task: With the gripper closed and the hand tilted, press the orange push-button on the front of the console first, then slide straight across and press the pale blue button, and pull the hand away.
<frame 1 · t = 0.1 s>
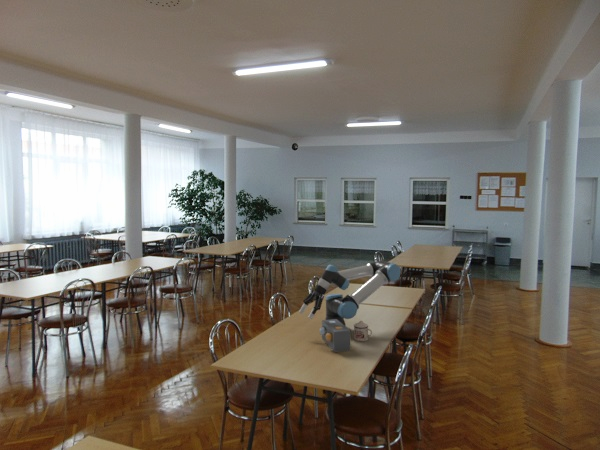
hand: (305, 315, 266), 15 cm above the table, tool tilted 35°, fingers open, 13 cm apart
teacup with lid: (363, 339, 265), on the table
orange button: (329, 337, 249), point 7 cm above the table, slide at 0.0 cm
pale blue button: (323, 331, 261), point 7 cm above the table, slide at 0.0 cm
button console: (335, 344, 257), on the table
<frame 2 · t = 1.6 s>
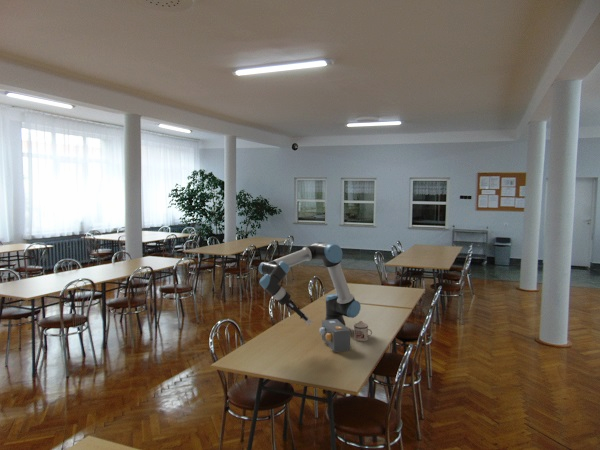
hand: (308, 320, 245), 18 cm above the table, tool tilted 45°, fingers open, 10 cm apart
nothing on the table moved.
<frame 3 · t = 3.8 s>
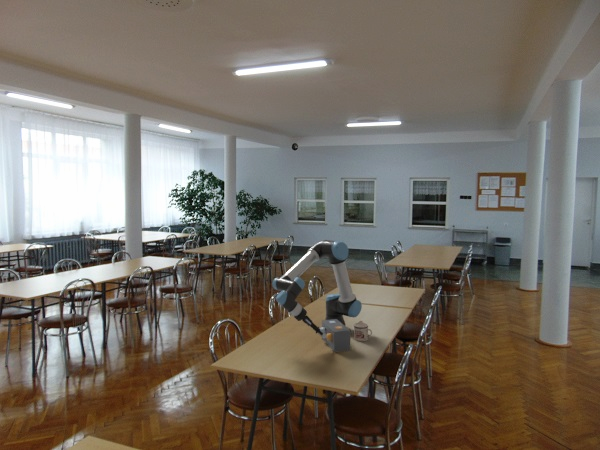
hand: (325, 337, 249), 7 cm above the table, tool tilted 45°, fingers closed
orange button: (330, 337, 250), point 7 cm above the table, slide at 0.6 cm, touching gripper
everything else where it was.
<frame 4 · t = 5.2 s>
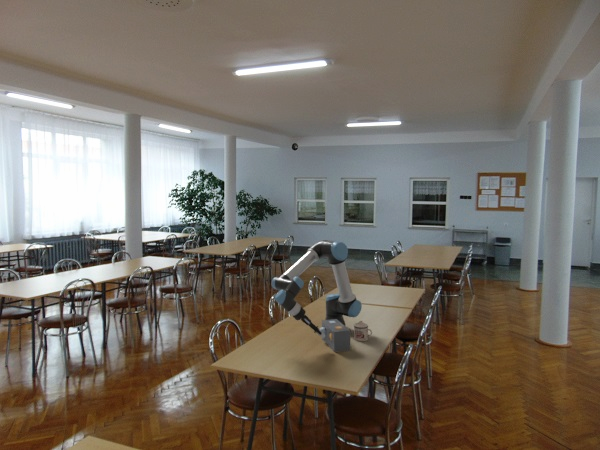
hand: (324, 336, 248), 8 cm above the table, tool tilted 45°, fingers closed
orange button: (333, 336, 250), point 7 cm above the table, slide at 2.6 cm
everything else where it was.
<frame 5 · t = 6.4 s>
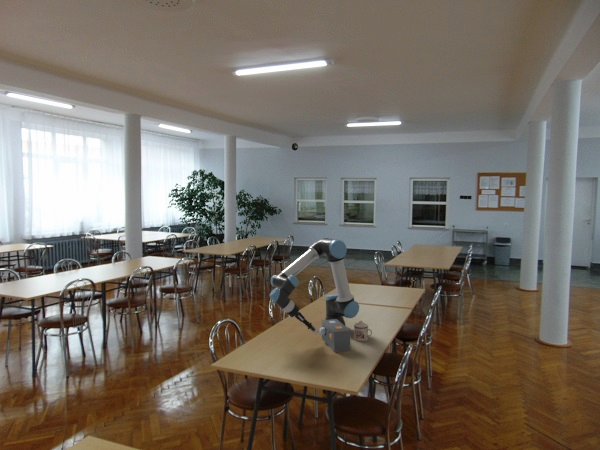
hand: (317, 332, 257), 7 cm above the table, tool tilted 45°, fingers closed
nothing on the table moved.
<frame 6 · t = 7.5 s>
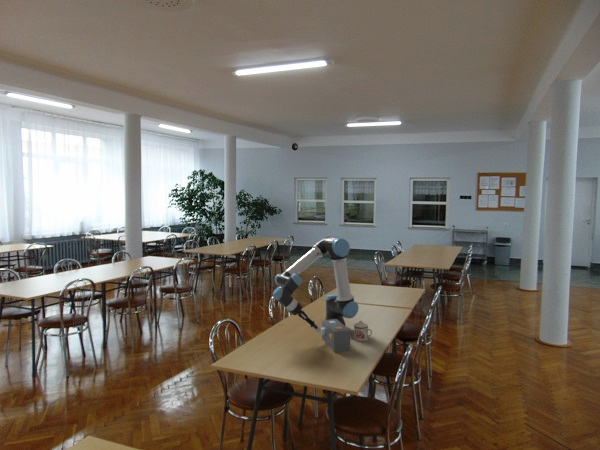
hand: (320, 331, 260), 7 cm above the table, tool tilted 45°, fingers closed
pale blue button: (324, 330, 261), point 7 cm above the table, slide at 0.9 cm, touching gripper
everything else where it was.
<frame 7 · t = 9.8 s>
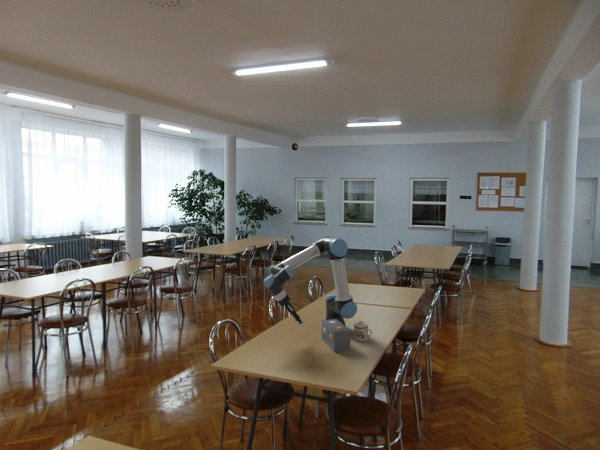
hand: (303, 326, 260), 10 cm above the table, tool tilted 35°, fingers closed
pale blue button: (327, 330, 262), point 7 cm above the table, slide at 2.6 cm
everything else where it was.
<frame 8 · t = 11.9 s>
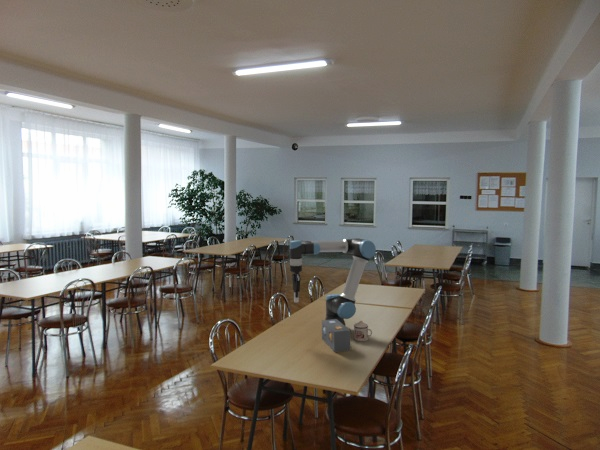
hand: (296, 301, 264), 24 cm above the table, tool pointing down, fingers closed
nothing on the table moved.
at the end: orange button slide at 2.6 cm; pale blue button slide at 2.6 cm; teacup with lid moved 0.2 cm from its start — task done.
